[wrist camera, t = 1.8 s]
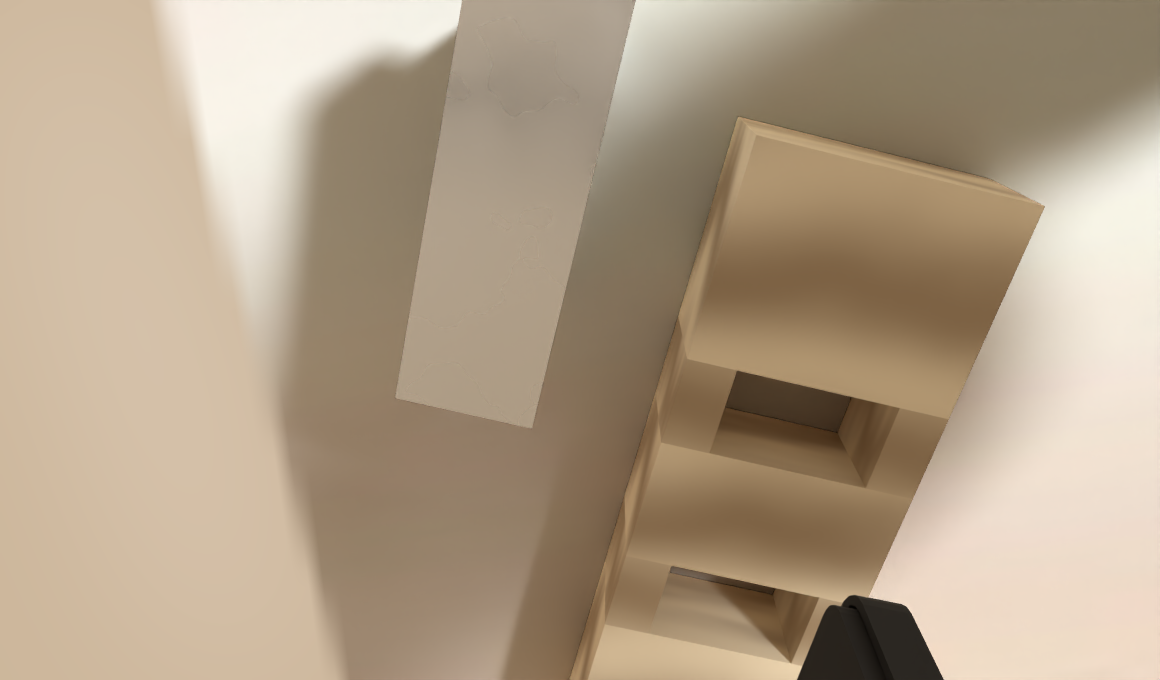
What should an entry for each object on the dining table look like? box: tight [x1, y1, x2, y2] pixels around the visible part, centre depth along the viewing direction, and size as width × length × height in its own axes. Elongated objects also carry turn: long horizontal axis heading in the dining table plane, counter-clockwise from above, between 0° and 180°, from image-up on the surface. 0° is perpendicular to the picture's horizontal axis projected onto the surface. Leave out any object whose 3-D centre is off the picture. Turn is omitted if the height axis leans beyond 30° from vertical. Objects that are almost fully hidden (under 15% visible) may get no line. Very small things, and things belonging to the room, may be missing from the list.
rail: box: [569, 116, 1045, 680], centre depth 32 cm, size 26×9×4 cm, turn 167°
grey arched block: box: [395, 0, 636, 429], centre depth 26 cm, size 12×4×8 cm, turn 167°
